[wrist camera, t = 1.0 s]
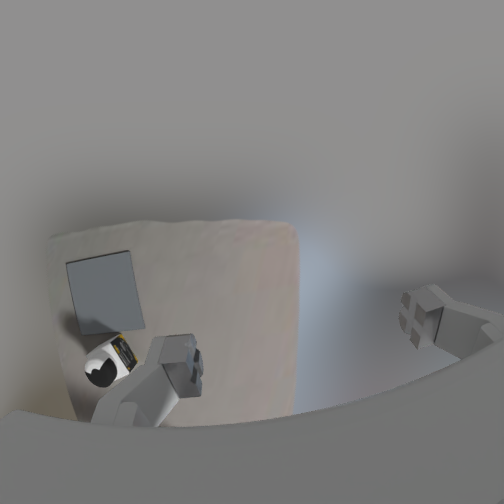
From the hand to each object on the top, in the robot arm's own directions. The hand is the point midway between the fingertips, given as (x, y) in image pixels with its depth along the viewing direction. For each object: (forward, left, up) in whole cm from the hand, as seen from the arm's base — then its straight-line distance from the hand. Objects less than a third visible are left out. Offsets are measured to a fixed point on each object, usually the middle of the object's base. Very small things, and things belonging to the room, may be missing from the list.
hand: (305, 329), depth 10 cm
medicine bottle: (-15, +30, -46) cm, 57 cm away
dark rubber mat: (-2, +30, -46) cm, 55 cm away
